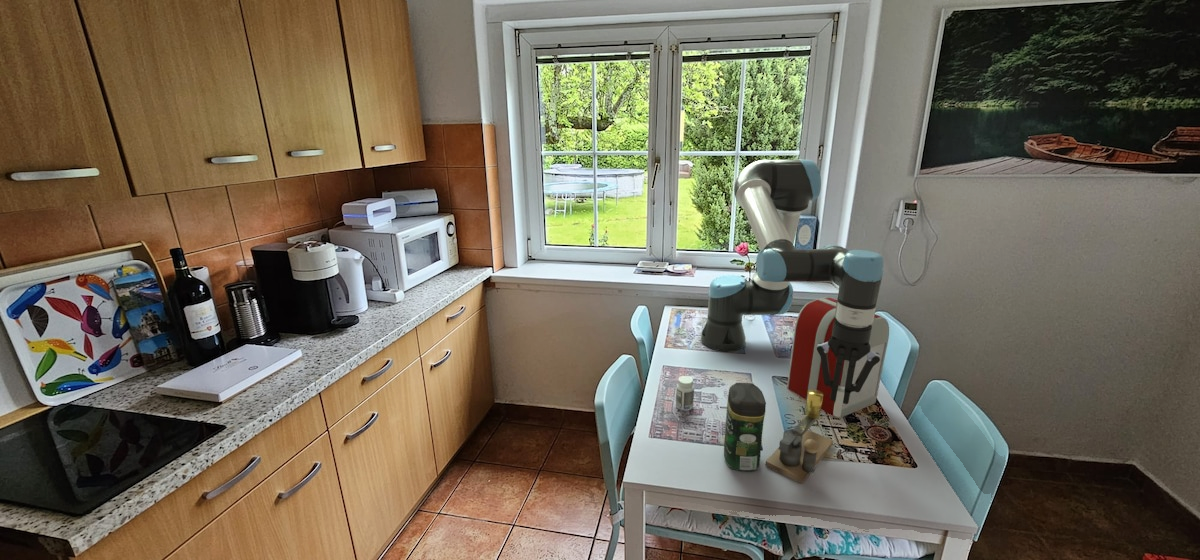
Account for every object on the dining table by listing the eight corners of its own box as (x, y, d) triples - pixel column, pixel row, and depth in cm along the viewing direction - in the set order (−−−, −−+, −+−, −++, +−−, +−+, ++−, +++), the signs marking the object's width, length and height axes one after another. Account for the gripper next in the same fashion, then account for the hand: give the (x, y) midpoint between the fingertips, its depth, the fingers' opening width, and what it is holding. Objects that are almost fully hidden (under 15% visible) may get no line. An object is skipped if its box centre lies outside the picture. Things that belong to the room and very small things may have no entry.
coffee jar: (720, 444, 119) (726, 377, 113) (754, 446, 118) (761, 379, 112) (725, 472, 110) (732, 401, 104) (761, 474, 109) (770, 403, 103)
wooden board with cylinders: (765, 465, 112) (769, 433, 109) (798, 429, 124) (802, 400, 121) (806, 486, 106) (811, 452, 103) (837, 446, 118) (842, 415, 115)
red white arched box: (837, 419, 128) (853, 325, 119) (784, 387, 143) (796, 302, 134) (877, 402, 135) (895, 312, 126) (823, 373, 150) (836, 291, 141)
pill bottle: (694, 402, 136) (695, 376, 133) (691, 412, 132) (693, 385, 129) (677, 399, 138) (678, 373, 135) (674, 409, 133) (675, 382, 131)
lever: (774, 447, 108) (778, 418, 106) (806, 414, 120) (810, 387, 118) (792, 455, 106) (796, 426, 103) (822, 421, 117) (827, 393, 115)
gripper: (819, 322, 106) (805, 414, 114) (888, 333, 101) (868, 429, 108) (821, 310, 112) (808, 398, 120) (886, 320, 107) (868, 411, 115)
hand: (836, 413), depth 114 cm, fingers closed
